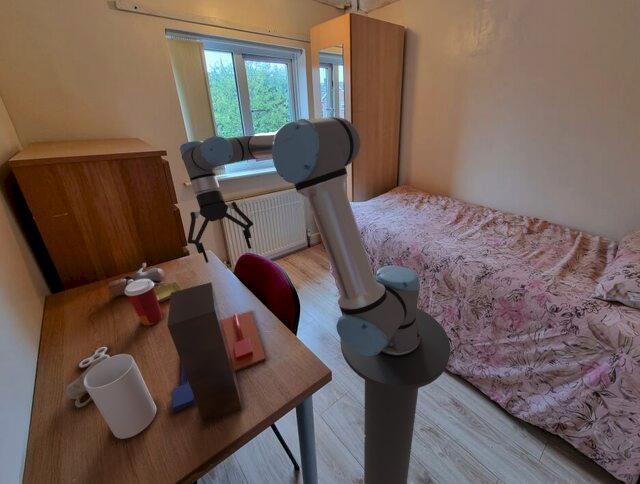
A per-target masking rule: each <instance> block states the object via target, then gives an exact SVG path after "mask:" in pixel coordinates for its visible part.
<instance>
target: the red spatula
mask: <svg viewBox="0 0 640 484" xmlns="http://www.w3.org/2000/svg"><path fill="white" fill-rule="evenodd" d="M238 315H239V314H238V313H233V316H232V317H234V322H235V326H236V331H237V336H238V340H239V342H237V343H234V344H233V345H234V350H235V355H236V360H237V361H238V360H241V359H244V358H246V357H249V356H252V355H253V352H252V348H251V344H250V340H249V338H248V339H245V340H244V339H243V335H242V331H241V326H240V322H239V318H238Z"/></svg>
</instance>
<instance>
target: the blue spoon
mask: <svg viewBox="0 0 640 484" xmlns="http://www.w3.org/2000/svg"><path fill="white" fill-rule="evenodd" d="M180 370H181V373H180V374H181V375H180V386H177V387H174V388H173V391H172V410H173V412H174V413H175V412H177V411H180V410H182V409H185V408H187V407H189V406H192V405H194V404H196V401H195V398H194V395H193V393H192V390H191V387H190V384H189V382H188V379H187V376H186V374H185V371H184V368H183V366H182V365H181V369H180Z"/></svg>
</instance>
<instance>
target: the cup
mask: <svg viewBox="0 0 640 484" xmlns="http://www.w3.org/2000/svg"><path fill="white" fill-rule="evenodd" d="M106 358H107V357H106ZM84 386H85V388H86V389H87V391H88V393H87V394H88V395H89V396H90V397H91V398H92V401H93V402H94V404H95V406H96V408H97V409H98V411H99V413H100V414H101V416H102V418H103V419H104V421H105V423H106V425H107V426H108V427H109V429H110V430H111V432H112V434H113V436H114V437H115V438H117V439H129V438H132V437H134V436H136V435H138V434H139V433H141V432H142V431H144V430H145V429H146V428H148V426H150V425H151V423H152V422H153V420H154V419H155V417H156V414H157V406H156V403H155V401H154V399H153V397H152V395H151V393H150V390H149V388H148V386H147V384H146V382H145V380H144V378H143V375H142V374H141V372H140V369H139V367H138V365H137V363H136V361H135V358H134V357H133V355H130V354H128V353H120V354H116V355H112V356H110V357H109V358H107V359H105V360H103V361H101V362H100V363H98V364H97V365H95V366H94V367H93V368H92V369H91V370H90V371H89V372H88V373H87V374H86V376H85V378H84Z"/></svg>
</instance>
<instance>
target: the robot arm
mask: <svg viewBox="0 0 640 484" xmlns="http://www.w3.org/2000/svg"><path fill="white" fill-rule="evenodd" d="M360 149H361V138H360V134H359V132H358V130H357V128H356V127H355V125H354V124H353V123H352V122H351V121H350V120H348V119H346V118H344V117H339V116H329V117H319V118H300V119H297V120H293V121H289V122H286V123H284V124H282V125H281V126H280V127H279V128H278V129H277V131H275V132H267V133H257V134H256V133H252V134H247V135H240V136H232V137H223V136H221V135H213V136H211V137H208V138H206V139H205V140H203V141H202V140H193V141H192V140H191V141H187V142H186V143H182V144H181V145H180V146H179V150H180V154H181V159H182V161H183V165H184V167H185V169H186V172H187V175H188V177H189V180H190V184H191V185H192V186H191V187H192V189H193V192H194V194H195V195H196V196H195V197H196V198H195V199H196V202H197V204H198V208H199V211H191V212H190V213H189V214H190V225H189V229H188V236H187V241H186V242H187V244H191V245H192V244H193V245H195V247H196V251H197V253H198V254H202V256H203V258H204V261H205V263H206V264H208V263H209V261H210V260H209V258H208V255H207V253H206V250H205V247H204V244H203V242H200V241H201V238H202V236H203V234H204V232H205V231H206V229H207V227H208V224H209V223H210V222H216V221H217V220H218V221H220V220H224V219H225V218H226V219H228V220H229V221H231V222H233V223H234V224H236V225H238V226H240V227H241V228H243V230H242V233H243V237H244V240H245V242H246V246H247V249H249V250H250V249H251V250H252V245H251V242H250V239H251V238H252V233H251V231H250V228H251V227H252V226H254V222H253V221H252V220H251V219H250V218H249V217H248V216H247V215H246V214H245V213H244V212H243V210H241V209H240V208H239V207H238V205H237V202H236V201H232V202H230V203H226V202H225V198H224V196H223V192H222V191H221V190H220V188H221V187H220V184H219V181H218V177H217V175H216V171H215V169H216V168H217V167H221V166H227V165H230V164H235V163H241V162H245V161H251V160H272V162H273V166H274V168H275V170H276V172H277V174H278V175H279V176H280V178H282V179H283V180H284V181H285V182H287V183H289V184H292V185H293V186H294V188H295V190H296V193H297V194H299V195H301V196H303V197H305V198H306V200H307V203H308V205H309V209H310V211H311V214H312V216H313V219H314V222H315V225H316V228H317V230H318V234H319V235H320V238H321V241H322V244H323V246H324V249H325V252H326V255H327V257H328V260H329V263H330V266H331V268H332V271H333V274H334V277H335V280H336V282H337V285H338V287H339V288H338V289H339V291H340V293H341V294H340V296H339V298H338V300H337V304H338V307H339V310H340V312H341V316H340V317H338V320H337V323H336V324H335V325H336V331H337V334H338V336H339V338H341V339H342V340H343V342H344V343H345V344H346V345H347V346H348V347H350V348H351V349H352V350H354V351H355V352H357V353H359V354H362V355H366V356H374V355H377V354H378V353H381V354H383V355H385V356H388V357H394V358H401V357H406V356H409V355H411V354H413V353H414V352H415V351H416V350H417V349H418V347H419V344H420V331H419V328H418V325H417V321H416V312H417V308H418V302H419V293H420V288H421V287H420V277H419V276H418V274H417V273H416V272H415V271H413V270H412V269H410V268H408V267H404V266H400V265H385V266H382V267H380V268H379V269H378V270H377V271H376V274H375V275H374V271H373V269H372V265H371V263H370V259H369V256H368V253H367V251H366V247H365V244H364V241H363V238H362V234H361V232H360V229H359V225H358V224H357V221H356V217H355V214H354V212H353V211H354V210H353V208H352V206H351V203H350V198H349V196H348V193H347V191H346V187H345V182H346V179H347V177H348V176H349V175H348V174H349V173H348V172H347V169H346V167H348V166H349V165H350V164H352V163H353V162H354V161H355V160H356V159H357V157H358V155H359V152H360ZM229 208H230V209H231V210H233V211H234V212H235V213H236V214H237V215H238V216H239V217H240V218H241V219H242V220H243V221H244V222H245V223H244V222H242V221H241V220H239V219H237V218H235V217H234V216H233V215H231V214H230V213H228V209H229ZM199 216H201V217H203V218H204V220H203V223H202V224H201V226H200V229H199V231H198V233H197V235H196V237H195V239H194V233H195V229H196V227H195V226H196V223H197V219H198V218H199Z"/></svg>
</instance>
